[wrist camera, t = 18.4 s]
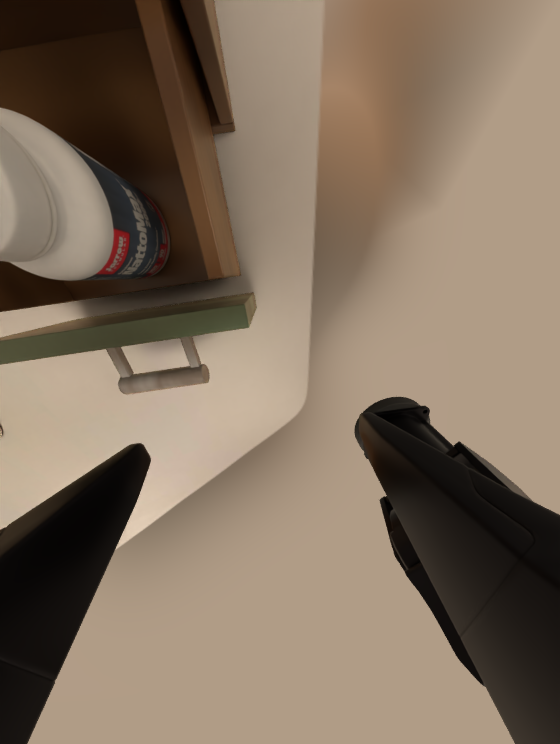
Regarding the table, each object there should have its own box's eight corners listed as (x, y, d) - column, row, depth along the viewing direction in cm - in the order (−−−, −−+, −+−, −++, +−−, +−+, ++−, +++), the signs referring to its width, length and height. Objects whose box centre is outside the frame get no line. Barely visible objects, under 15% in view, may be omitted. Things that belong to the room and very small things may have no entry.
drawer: (265, 354, 19) (263, 395, 12) (111, 377, 19) (35, 427, 13) (203, 14, 10) (109, -355, 4) (-69, 62, 11) (-522, -219, 5)
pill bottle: (171, 287, 15) (55, 304, 7) (91, 266, 14) (-146, 258, 6) (174, 197, 13) (9, 67, 5) (79, 167, 12) (-314, -53, 4)
